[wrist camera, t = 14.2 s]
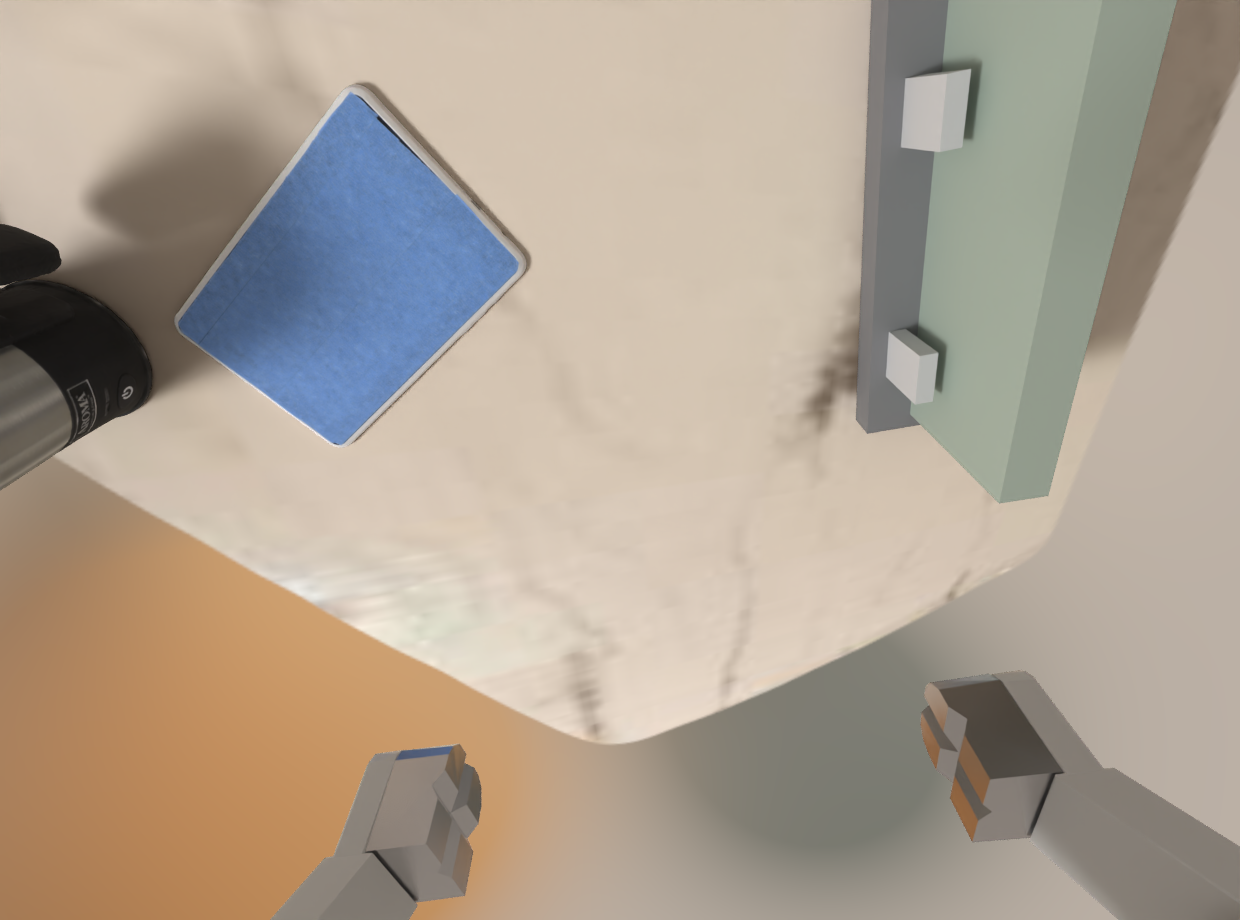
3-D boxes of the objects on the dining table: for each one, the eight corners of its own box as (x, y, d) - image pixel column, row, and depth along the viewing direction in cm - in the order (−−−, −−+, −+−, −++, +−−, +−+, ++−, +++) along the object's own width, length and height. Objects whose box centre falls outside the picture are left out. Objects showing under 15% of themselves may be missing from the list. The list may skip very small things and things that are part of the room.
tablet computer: (359, 74, 29) (349, 73, 28) (535, 262, 34) (532, 267, 33) (177, 319, 36) (164, 326, 35) (348, 446, 41) (341, 456, 40)
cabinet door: (949, -7, 26) (1115, -64, 17) (1037, -27, 26) (1251, -95, 17) (910, 413, 37) (999, 503, 29) (971, 403, 37) (1079, 491, 29)
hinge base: (872, -13, 27) (932, -42, 22) (1044, -53, 27) (1148, -92, 22) (856, 419, 40) (892, 465, 35) (973, 399, 39) (1028, 443, 34)
